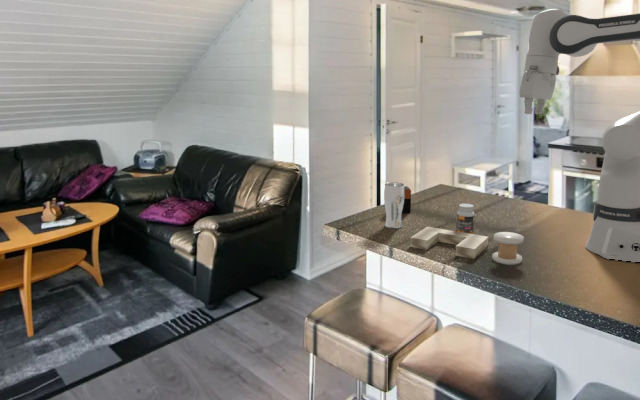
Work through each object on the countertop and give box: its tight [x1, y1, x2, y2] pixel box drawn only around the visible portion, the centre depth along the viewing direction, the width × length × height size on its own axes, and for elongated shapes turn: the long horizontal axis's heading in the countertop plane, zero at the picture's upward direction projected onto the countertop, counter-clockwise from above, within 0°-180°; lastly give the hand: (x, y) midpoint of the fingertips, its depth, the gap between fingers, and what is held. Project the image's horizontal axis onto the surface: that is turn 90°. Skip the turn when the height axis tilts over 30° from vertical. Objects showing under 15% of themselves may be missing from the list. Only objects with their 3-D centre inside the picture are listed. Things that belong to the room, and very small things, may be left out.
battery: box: [402, 185, 412, 214], centre depth 194 cm, size 4×7×10 cm, turn 90°
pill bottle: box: [455, 203, 476, 234], centre depth 166 cm, size 6×6×10 cm
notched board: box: [409, 226, 489, 260], centre depth 156 cm, size 20×13×3 cm, turn 55°
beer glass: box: [383, 181, 405, 230], centre depth 176 cm, size 7×7×15 cm
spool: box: [491, 231, 525, 266], centre depth 144 cm, size 8×8×7 cm
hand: (533, 114), depth 154 cm, fingers open, 8 cm apart
